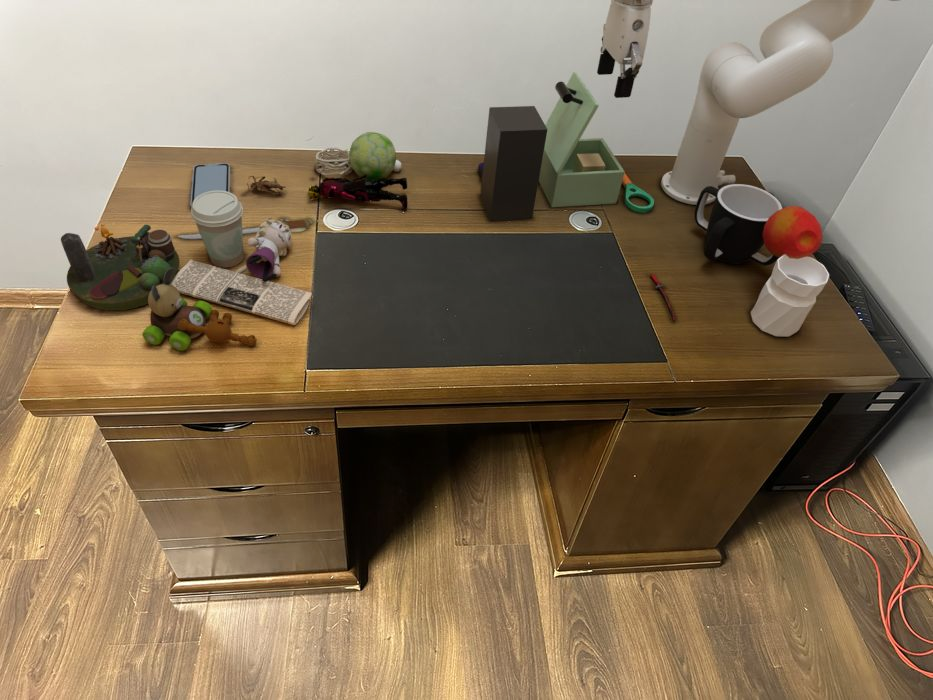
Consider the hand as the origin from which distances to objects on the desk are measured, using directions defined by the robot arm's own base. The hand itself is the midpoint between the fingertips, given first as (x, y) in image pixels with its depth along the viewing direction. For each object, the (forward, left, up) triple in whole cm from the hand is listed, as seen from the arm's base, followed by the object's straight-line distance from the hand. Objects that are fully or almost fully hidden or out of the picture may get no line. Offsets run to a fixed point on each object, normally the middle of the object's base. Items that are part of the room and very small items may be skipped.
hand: (613, 85), depth 135 cm
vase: (-20, +46, -23) cm, 55 cm away
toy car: (+83, +34, -23) cm, 93 cm away
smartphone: (+80, -7, -23) cm, 83 cm away
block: (+1, 0, -22) cm, 22 cm away
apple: (-20, +43, -7) cm, 48 cm away
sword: (+73, +12, -23) cm, 77 cm away
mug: (-21, +26, -23) cm, 40 cm away
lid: (+8, 0, -8) cm, 11 cm away
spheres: (+43, -16, -22) cm, 51 cm away
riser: (+21, +6, -23) cm, 31 cm away
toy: (+72, +27, -20) cm, 80 cm away
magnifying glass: (-8, +4, -23) cm, 25 cm away
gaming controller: (+20, -4, -23) cm, 31 cm away
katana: (-4, +38, -23) cm, 45 cm away
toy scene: (+93, +21, -23) cm, 98 cm away
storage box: (+4, 0, -23) cm, 23 cm away
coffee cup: (+76, +16, -23) cm, 81 cm away
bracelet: (+59, -11, -21) cm, 63 cm away
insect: (+70, -3, -19) cm, 73 cm away
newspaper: (+74, +28, -21) cm, 81 cm away
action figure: (+51, +1, -23) cm, 56 cm away
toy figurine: (+76, +33, -22) cm, 86 cm away
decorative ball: (+49, -5, -14) cm, 51 cm away
